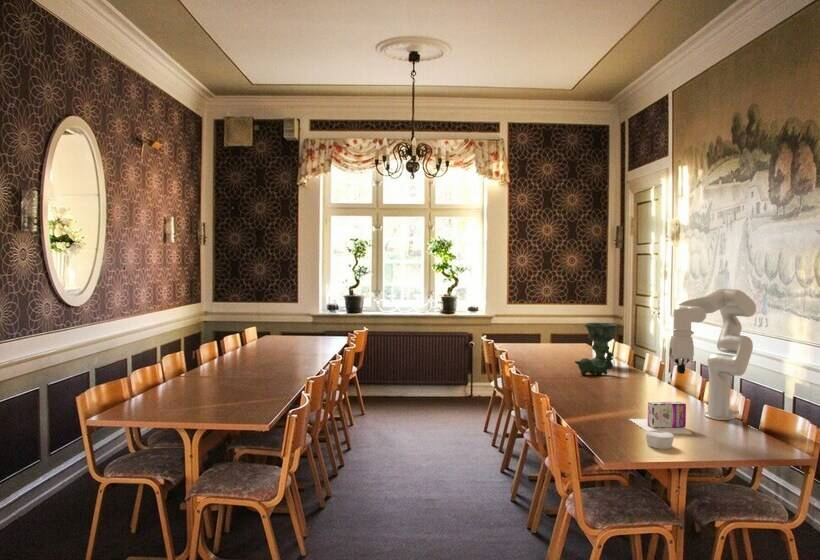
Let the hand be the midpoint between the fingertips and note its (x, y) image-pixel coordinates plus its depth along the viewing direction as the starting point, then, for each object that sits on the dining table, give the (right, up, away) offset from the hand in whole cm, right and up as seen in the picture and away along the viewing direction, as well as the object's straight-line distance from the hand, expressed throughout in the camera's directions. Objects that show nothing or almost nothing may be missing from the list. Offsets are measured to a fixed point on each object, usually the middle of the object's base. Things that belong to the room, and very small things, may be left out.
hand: (681, 373), depth 296 cm
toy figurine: (-4, -20, +126) cm, 128 cm away
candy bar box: (+1, -19, 0) cm, 19 cm away
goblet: (+11, -19, +162) cm, 164 cm away
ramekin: (-22, -26, -30) cm, 45 cm away
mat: (-10, -25, 0) cm, 27 cm away
